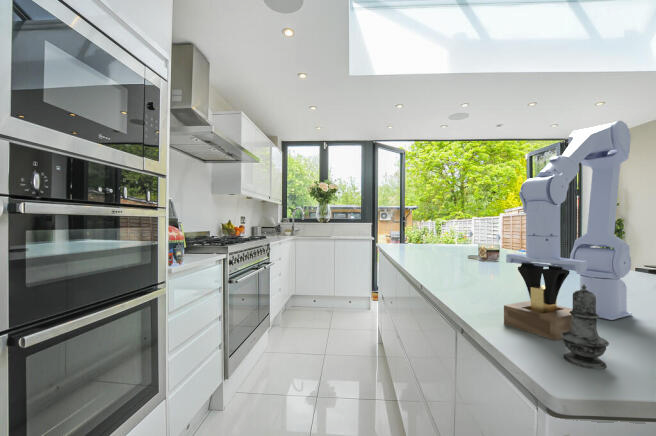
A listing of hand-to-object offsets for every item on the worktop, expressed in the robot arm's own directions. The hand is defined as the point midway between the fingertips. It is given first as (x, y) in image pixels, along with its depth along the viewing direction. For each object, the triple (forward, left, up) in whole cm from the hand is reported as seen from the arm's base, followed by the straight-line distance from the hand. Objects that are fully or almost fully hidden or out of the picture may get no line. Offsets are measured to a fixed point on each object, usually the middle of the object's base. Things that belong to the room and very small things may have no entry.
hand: (542, 302), depth 65 cm
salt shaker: (+10, +12, -6) cm, 17 cm away
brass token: (0, 0, -3) cm, 3 cm away
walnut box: (0, 0, -5) cm, 5 cm away
